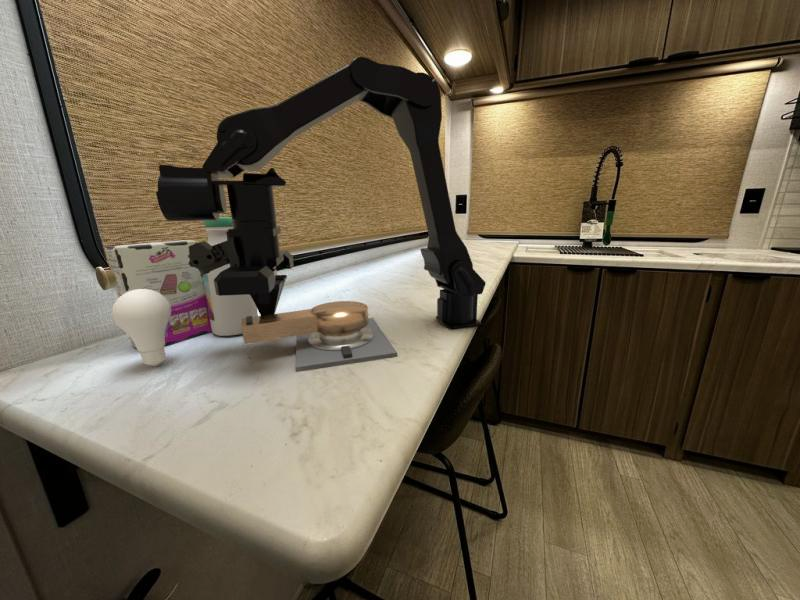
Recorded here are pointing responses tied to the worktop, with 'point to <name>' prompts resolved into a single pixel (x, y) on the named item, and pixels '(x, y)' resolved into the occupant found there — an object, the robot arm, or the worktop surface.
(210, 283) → the milk bottle
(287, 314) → the door handle
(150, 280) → the candy bar box
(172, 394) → the worktop surface
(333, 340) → the white disc
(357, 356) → the mat
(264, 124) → the robot arm
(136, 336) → the lightbulb
